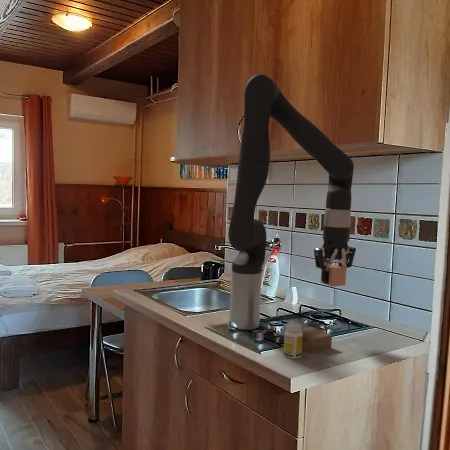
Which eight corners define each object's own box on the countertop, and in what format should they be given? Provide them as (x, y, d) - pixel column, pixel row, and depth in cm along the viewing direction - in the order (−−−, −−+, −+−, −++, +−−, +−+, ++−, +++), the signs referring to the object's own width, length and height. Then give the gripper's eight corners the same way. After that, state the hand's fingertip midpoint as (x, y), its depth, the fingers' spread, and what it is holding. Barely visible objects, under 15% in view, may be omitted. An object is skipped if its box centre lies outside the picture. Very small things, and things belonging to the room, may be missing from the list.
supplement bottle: (299, 352, 124) (301, 321, 124) (303, 359, 120) (305, 327, 119) (282, 352, 124) (283, 321, 123) (284, 359, 120) (286, 327, 119)
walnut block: (290, 344, 131) (290, 331, 130) (310, 340, 135) (311, 326, 135) (310, 354, 124) (311, 340, 124) (331, 348, 129) (332, 334, 128)
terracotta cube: (320, 282, 137) (321, 265, 137) (334, 281, 139) (335, 265, 139) (331, 286, 133) (332, 269, 132) (345, 285, 135) (346, 268, 134)
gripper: (347, 223, 141) (343, 278, 143) (308, 223, 134) (305, 281, 136) (365, 226, 134) (360, 283, 136) (325, 226, 128) (321, 287, 129)
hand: (332, 282), depth 136 cm, fingers closed on terracotta cube, 5 cm apart
